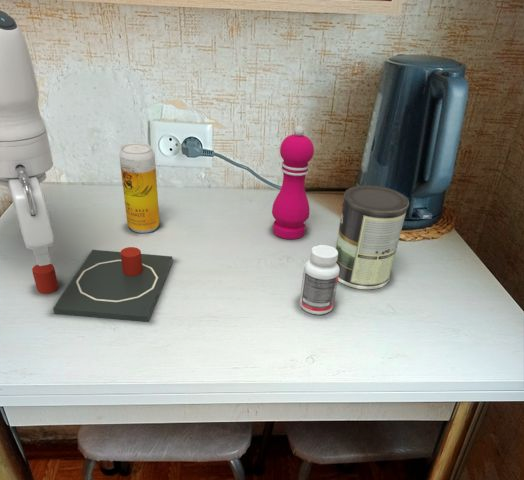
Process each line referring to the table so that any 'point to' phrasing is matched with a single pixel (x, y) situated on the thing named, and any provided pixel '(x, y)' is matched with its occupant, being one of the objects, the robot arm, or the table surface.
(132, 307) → the slate board
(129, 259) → the red cylinder
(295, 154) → the pepper mill
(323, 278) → the pill bottle
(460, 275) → the table surface
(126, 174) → the beer can
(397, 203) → the coffee can
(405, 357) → the table surface
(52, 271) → the dot
